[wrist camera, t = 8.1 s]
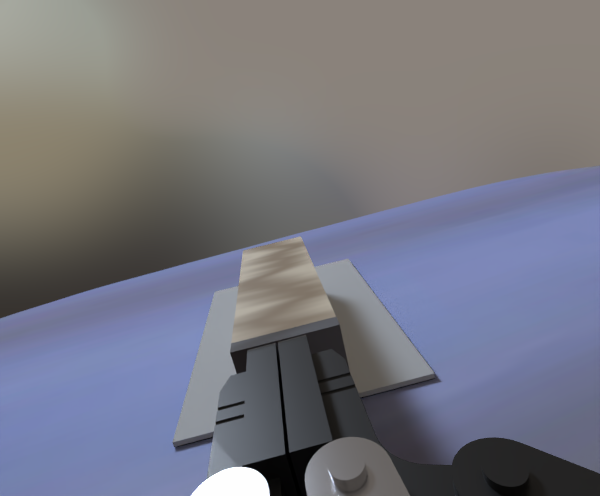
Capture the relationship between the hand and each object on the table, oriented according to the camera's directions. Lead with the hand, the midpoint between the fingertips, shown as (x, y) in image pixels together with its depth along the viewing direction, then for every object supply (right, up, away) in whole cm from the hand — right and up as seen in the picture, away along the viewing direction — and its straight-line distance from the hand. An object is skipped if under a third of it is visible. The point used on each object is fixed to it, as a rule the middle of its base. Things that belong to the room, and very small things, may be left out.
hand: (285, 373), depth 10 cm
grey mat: (0, -3, +20) cm, 20 cm away
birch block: (0, -3, +8) cm, 9 cm away
